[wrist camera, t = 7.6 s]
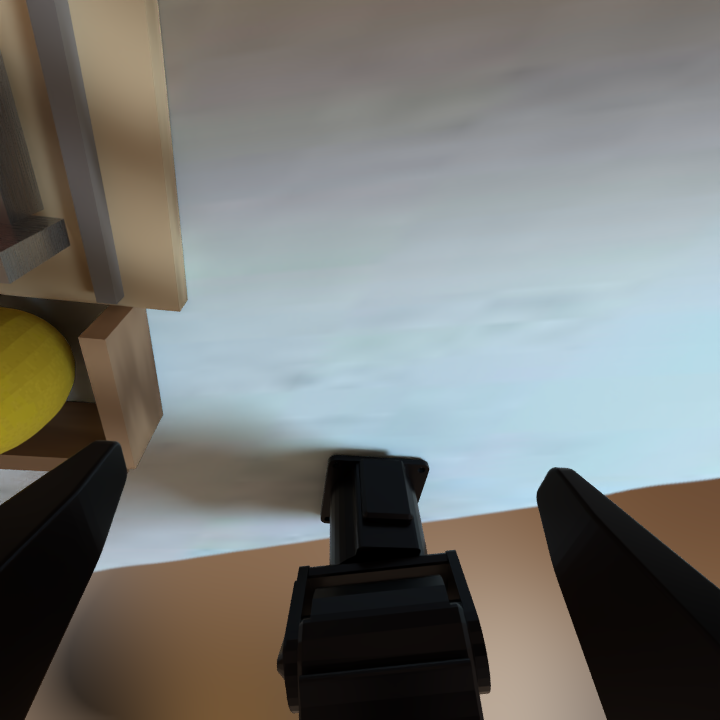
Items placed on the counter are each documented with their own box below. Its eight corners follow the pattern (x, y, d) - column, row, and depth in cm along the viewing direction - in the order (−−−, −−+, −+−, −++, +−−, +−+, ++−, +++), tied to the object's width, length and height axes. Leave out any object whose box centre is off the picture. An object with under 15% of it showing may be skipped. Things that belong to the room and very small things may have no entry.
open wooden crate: (164, 420, 24) (136, 475, 21) (-26, 408, 23) (-87, 464, 20) (143, 295, 20) (105, 339, 16) (-94, 271, 18) (-187, 314, 15)
